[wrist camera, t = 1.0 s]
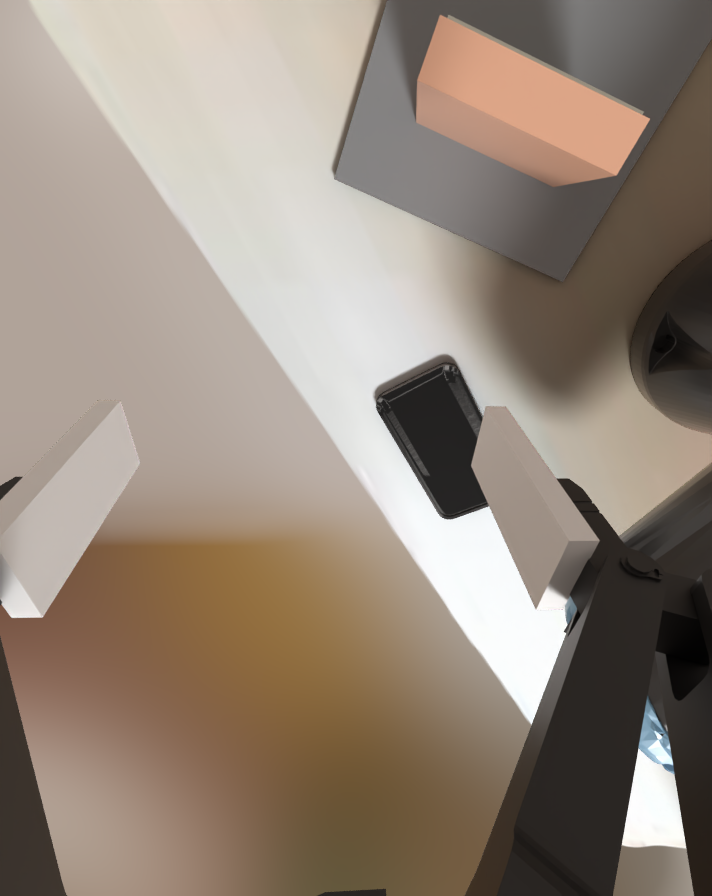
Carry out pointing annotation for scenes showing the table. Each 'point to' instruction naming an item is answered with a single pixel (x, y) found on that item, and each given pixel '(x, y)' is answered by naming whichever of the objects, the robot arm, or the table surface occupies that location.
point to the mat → (485, 179)
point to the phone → (437, 436)
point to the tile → (521, 108)
